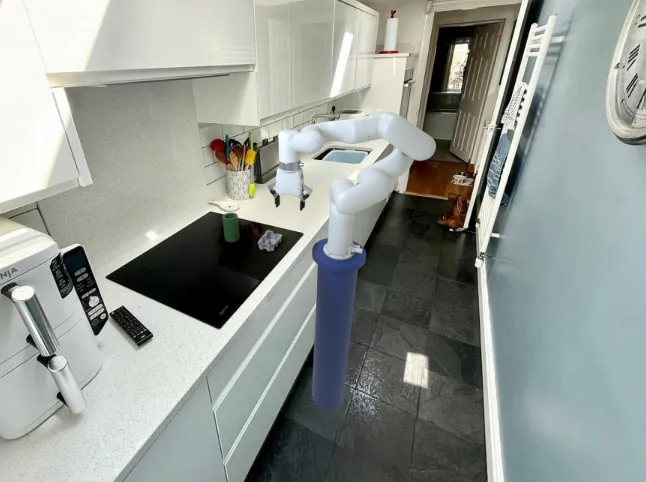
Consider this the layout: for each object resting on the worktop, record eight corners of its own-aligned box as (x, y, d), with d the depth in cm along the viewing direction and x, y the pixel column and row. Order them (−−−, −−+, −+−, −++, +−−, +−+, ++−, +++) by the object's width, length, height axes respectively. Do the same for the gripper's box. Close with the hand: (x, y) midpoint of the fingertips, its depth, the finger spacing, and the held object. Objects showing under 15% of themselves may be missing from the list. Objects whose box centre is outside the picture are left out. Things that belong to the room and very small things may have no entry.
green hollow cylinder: (242, 235, 136) (240, 213, 131) (235, 243, 130) (233, 220, 126) (229, 233, 138) (226, 211, 133) (222, 240, 132) (219, 218, 128)
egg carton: (268, 236, 135) (268, 228, 133) (284, 240, 131) (284, 232, 129) (255, 248, 126) (255, 239, 125) (271, 253, 123) (271, 244, 121)
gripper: (315, 163, 111) (314, 206, 119) (270, 160, 117) (272, 200, 124) (310, 170, 105) (309, 215, 112) (263, 166, 110) (265, 208, 118)
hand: (289, 207), depth 118 cm, fingers open, 9 cm apart
